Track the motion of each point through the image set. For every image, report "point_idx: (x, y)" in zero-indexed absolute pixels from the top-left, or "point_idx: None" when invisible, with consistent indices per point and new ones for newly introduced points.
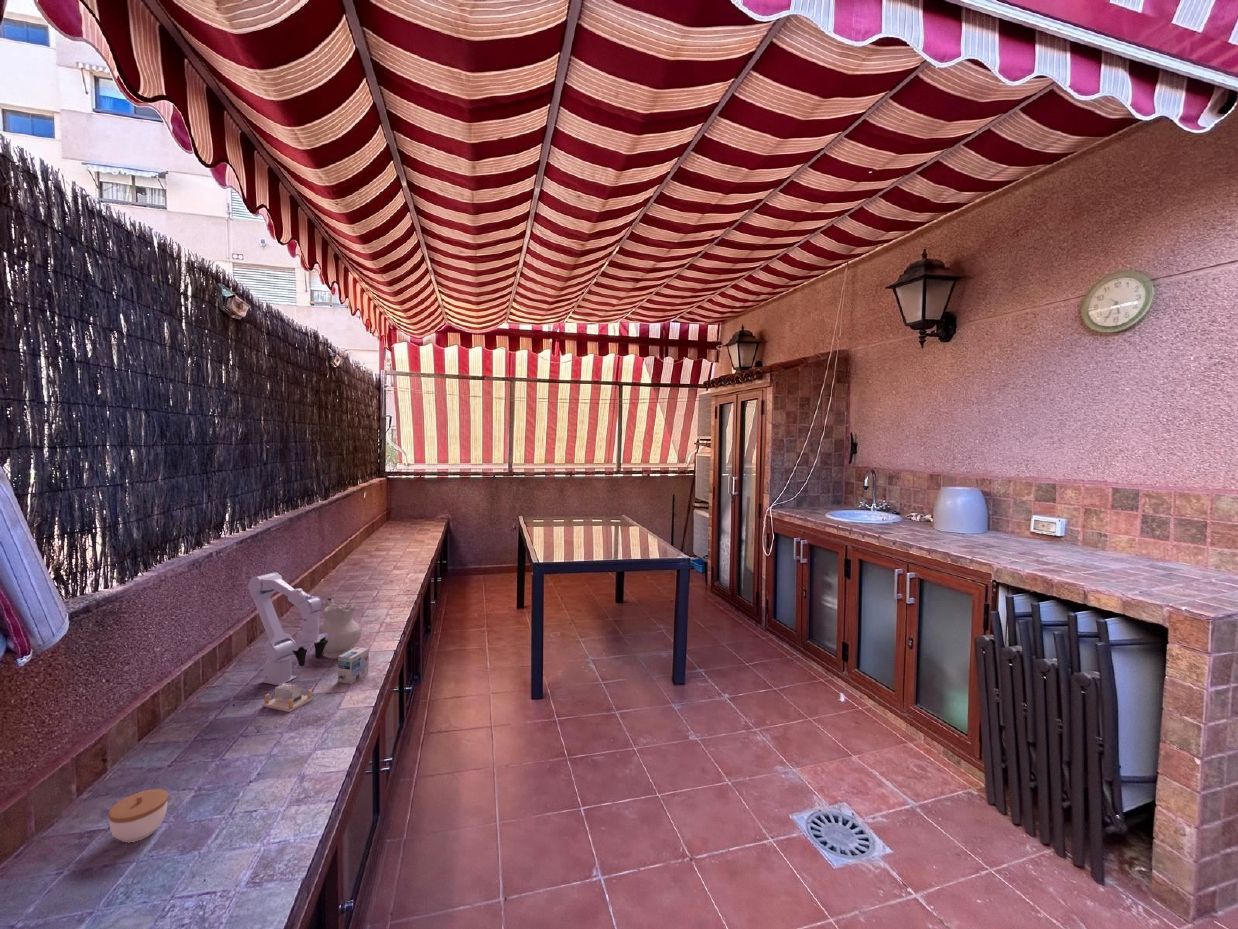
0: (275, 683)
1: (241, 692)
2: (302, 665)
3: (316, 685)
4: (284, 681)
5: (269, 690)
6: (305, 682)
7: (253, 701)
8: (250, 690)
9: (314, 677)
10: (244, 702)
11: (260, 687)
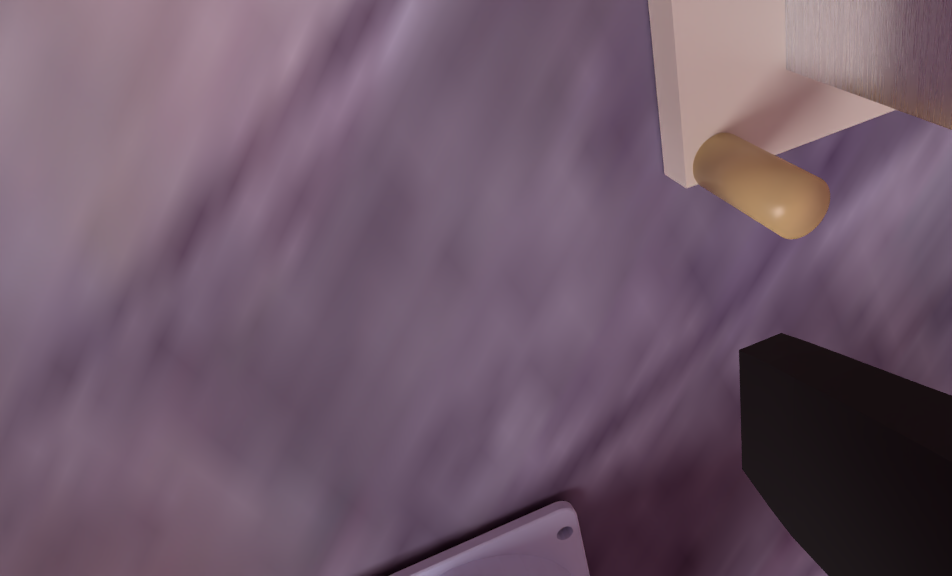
0: (576, 561)
1: (807, 560)
2: (815, 357)
3: (227, 165)
4: (491, 558)
5: (679, 451)
6: (299, 403)
7: (909, 290)
8: (752, 558)
9: (113, 492)
10: (945, 330)
11: (673, 572)
